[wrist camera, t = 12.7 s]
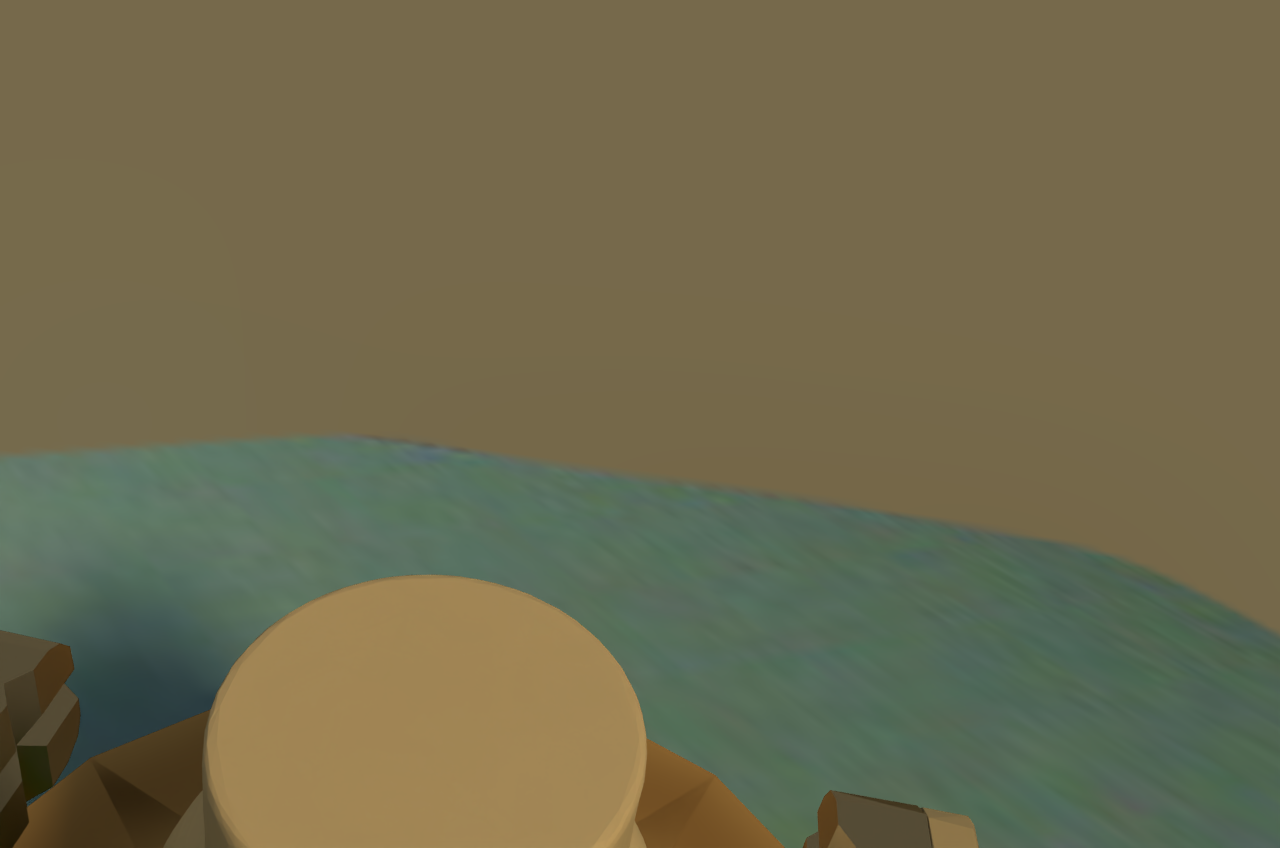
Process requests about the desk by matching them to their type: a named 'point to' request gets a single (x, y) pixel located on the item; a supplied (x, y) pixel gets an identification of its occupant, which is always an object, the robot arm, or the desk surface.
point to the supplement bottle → (421, 727)
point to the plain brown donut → (172, 778)
